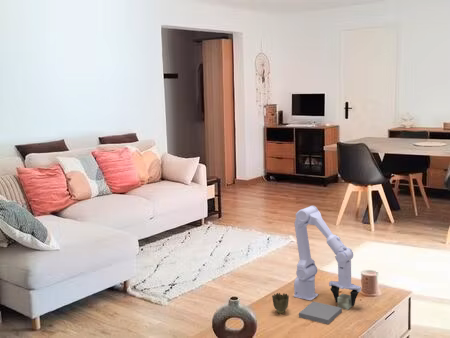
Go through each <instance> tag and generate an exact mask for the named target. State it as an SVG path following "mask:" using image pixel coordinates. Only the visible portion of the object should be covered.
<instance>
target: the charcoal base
mask: <svg viewBox="0 0 450 338" xmlns="http://www.w3.org/2000/svg"><path fill="white" fill-rule="evenodd" d="M341 313H343V309H342V308H340V307H338V306H335V305H331V304H326V303H322V302H318V301H312V302H311V303H309V304H308V305H307V306H306V307H304V308H303V309H302V310H300V311H299V312H298V318H302V319H306V320H309V321H313V322H317V323H322V324H324V325H325V324H326V325H329V324H331V323H332V322H333V321H334V320H335V319H336V318H337V317H339V315H341Z"/></svg>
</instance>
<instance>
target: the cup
mask: <svg viewBox="0 0 450 338" xmlns="http://www.w3.org/2000/svg"><path fill="white" fill-rule="evenodd" d="M271 298H272V305H273V308H274V309H275V310H276V313H278V314H279V315H283V314H285V313H286V310H287V309H288V307H289V298H290V296H289V294H287V293H283V294H281V293H280V292H277V293H274V294H272V296H271Z"/></svg>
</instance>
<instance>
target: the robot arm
mask: <svg viewBox="0 0 450 338" xmlns="http://www.w3.org/2000/svg"><path fill="white" fill-rule="evenodd" d="M308 225H310V226H311V225H312V226H315V227H316V228H317V230H319V232H321V234H322V235H323V236H324V237H325V238H326V244H327V246H328V247H329V248H330V249H331V250H332V252H333V253H334V255H335V261H336V262H337V272H338V273H337V278H338V279H337V280H338V281H335V280H334V281H333V280H330V281H329V282H328V286H329V287H330V288H329V289H330V291H331V293H332V295H333V298H334V301H335V303H337V304H338V297H339V296H340V290H344V289H345V290H349V291H350V292H349V295H351V306H352V307H354V306H355V304H356V300H357V297H358V294H359V293H360V292H361V291H362V286H361V285H356V284H353V283H352V259H353V258H354V252H353V250H352V248H350V247H347V246H346V245H345V244H344V242H343V241H342V240H341V238H340V236H338V235H337V234H334V233H333V231H331V229H330V228H329V226H328V224H327V223H326V221H325V220H324V218H323V217H322V213H321V212H320V211H319V209H318V207H316V206H315V205H309V206H307V207H305V208H301V209H299V210H298V211H297V212H296V213H295V220H294V230H295V238H296V244H297V245H296V246H297V250H298V256H299V257H298V258H299V260H298V263H297V265H296V273H295V274H296V277H295V279H294V282H293V284H294V285H293V290H294V295H293V298H297V299H302V300H307V301H312V300H314V299H315V298H316V297H319V293H317V292H316V282H315V279H316V275H317V274H318V267H317V265H316V263H315V260H314V259H313V258H312V255H311V254H312V253H311V249H310V242H309V240H310V239H309V236H308V235H309V234H308V228H307V227H308Z"/></svg>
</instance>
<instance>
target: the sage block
mask: <svg viewBox="0 0 450 338" xmlns="http://www.w3.org/2000/svg"><path fill="white" fill-rule="evenodd" d="M337 307H340V308H342V310H346V311H349V310H350V309H351V308H353V306H351V294H347V293H346V294H345V293H341V294H339V297H338V302H337Z"/></svg>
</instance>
